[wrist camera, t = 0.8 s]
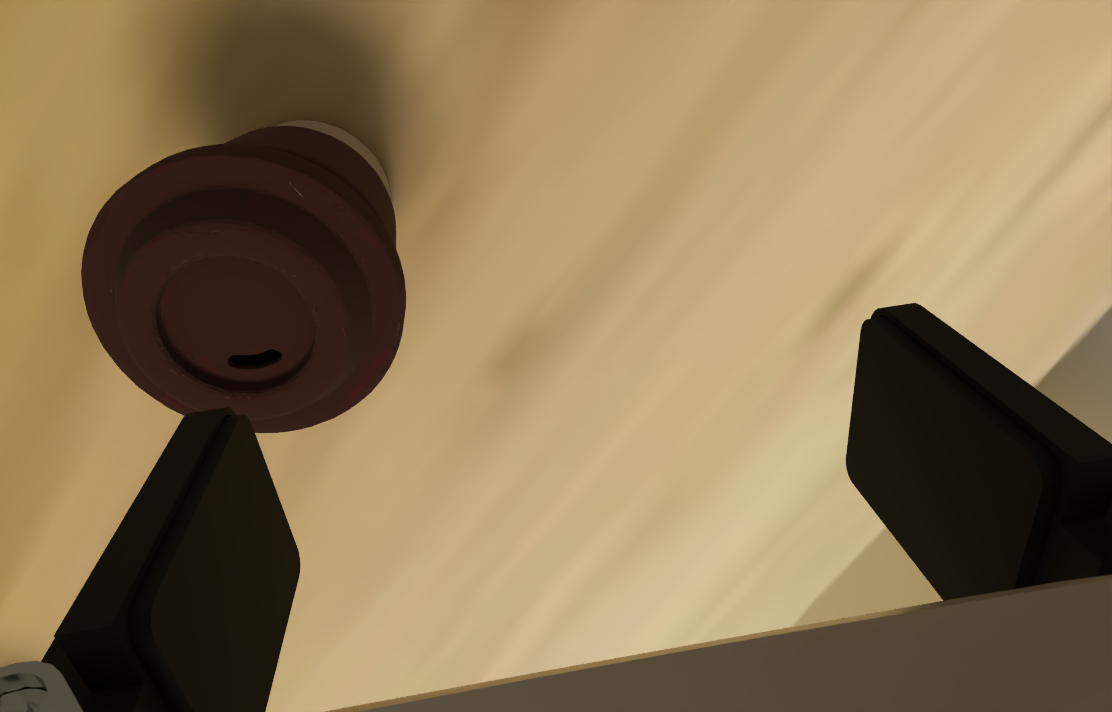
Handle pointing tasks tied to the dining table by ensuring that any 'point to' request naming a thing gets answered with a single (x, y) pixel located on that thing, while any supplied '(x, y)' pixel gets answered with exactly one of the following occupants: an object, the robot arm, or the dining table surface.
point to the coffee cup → (252, 276)
